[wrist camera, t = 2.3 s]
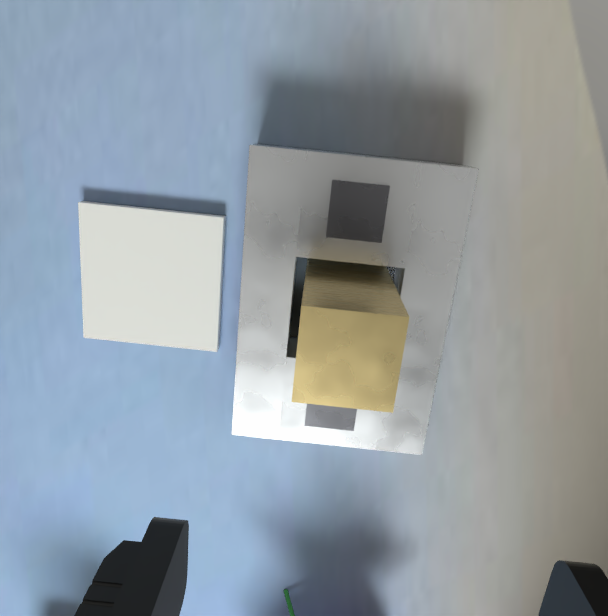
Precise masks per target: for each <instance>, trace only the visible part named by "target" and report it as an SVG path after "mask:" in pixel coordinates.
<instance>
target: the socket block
mask: <svg viewBox="0 0 608 616" xmlns="http://www.w3.org/2000/svg"><path fill="white" fill-rule="evenodd" d="M478 171H479V169H478V168H473V167H469V166H464V165H456V164H447V163H437V162H427V161H418V160H408V159H399V158H389V157H379V156H370V155H360V154H350V153H341V152H331V151H322V150H312V149H302V148H293V147H283V146H273V145H264V144H253V145H250V148H249V164H248V180H247V196H246V212H245V228H244V244H243V261H242V277H241V293H240V309H239V325H238V341H237V357H236V373H235V390H234V406H233V422H232V435H240V436H249V437H259V438H268V439H277V440H287V441H296V442H305V443H315V444H324V445H334V446H343V447H352V448H362V449H371V450H380V451H390V452H399V453H409V454H418V455H422V452H423V447H424V442H425V437H426V432H427V427H428V422H429V417H430V412H431V407H432V402H433V397H434V392H435V387H436V382H437V377H438V372H439V367H440V362H441V357H442V352H443V347H444V342H445V336H446V331H447V326H448V321H449V316H450V311H451V306H452V301H453V296H454V291H455V286H456V281H457V276H458V271H459V266H460V261H461V256H462V251H463V246H464V241H465V236H466V231H467V226H468V221H469V216H470V211H471V206H472V201H473V196H474V191H475V186H476V181H477V176H478ZM297 257H302V258H312V259H321V260H331V261H341V262H350V263H360V264H369V265H379V266H388V267H395V273H394V280H393V282H394V285H395V287H396V289H397V291H398V293H399V295H400V298H401V300H402V302H403V304H404V306H405V308H406V311H407V313H408V315H409V323H408V329H407V335H406V340H405V346H404V352H403V358H402V363H401V369H400V375H399V381H398V387H397V392H396V398H395V404H394V410H393V413H391V412H381V411H372V410H362V409H353V408H344V407H334V406H325V405H315V404H306V403H297V402H292V392H293V382H294V372H295V362H296V353H297V343H298V338H296V337H290V329H291V318H292V308H293V297H294V287H295V277H296V266H297Z"/></svg>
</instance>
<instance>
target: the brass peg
mask: <svg viewBox="0 0 608 616" xmlns="http://www.w3.org/2000/svg"><path fill="white" fill-rule="evenodd" d="M408 323H409V315H408V313H407V311H406V308H405V306H404V304H403V302H402V300H401V298H400V295H399V293H398V291H397V289H396V287H395V285H394V282H393V280H392V278H391V276H390V274H389V272H388V269H387V267H386V266H379V265H369V264H360V263H350V262H341V261H331V260H321V259H312V258H308V261H307V268H306V275H305V282H304V290H303V297H302V304H301V313H300V323H299V333H298V343H297V353H296V362H295V372H294V382H293V392H292V402H297V403H306V404H315V405H325V406H334V407H344V408H353V409H362V410H372V411H381V412H391V413H393V410H394V404H395V398H396V392H397V387H398V381H399V375H400V369H401V363H402V358H403V352H404V346H405V340H406V335H407V329H408Z"/></svg>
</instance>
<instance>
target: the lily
mask: <svg viewBox="0 0 608 616" xmlns="http://www.w3.org/2000/svg"><path fill="white" fill-rule="evenodd" d="M284 594H285V598H286V602H287V605H288V609H289V613H290V616H295V615H294V611H293V608H292V604H291V601H290V597H289V593H288V590H287V589H285V590H284Z"/></svg>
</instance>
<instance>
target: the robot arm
mask: <svg viewBox="0 0 608 616" xmlns="http://www.w3.org/2000/svg"><path fill="white" fill-rule="evenodd" d="M188 531H189V525H188V521H187V520H178V519H168V518H158V517H154V518H153V519H152V520H151V522H150V524H149V526H148V529H147V531H146V533H145V535H144V537H143V540H142V542H135V541H125V540H124V541H123V542H121V543H120V544H119V545H118V546H117V547H116V548H115V549H114V550H113V551H112V552H111V553H109V554H108V555H107V556H106V557H105V558H104V560H103V562H102V564H101V566H100V567H99V569H98V571H97V573H96V575H95V577H94V579H93V582H92V585H90V587H89V589H88V591H87V593H86V594H85V596H84V598H83V602H82V604H80V606H79V608H78V610H77V612H76V614H75V616H179V614H180V611H181V607H182V604H183V599H184V594H185V589H186V582H187V565H188ZM539 616H608V579H607V577H606V576H605V574H604V572H603V571H602V570H601V568H600V567H599V566H597V565H595V564H589V563H579V562H569V561H557V562H556V563H555V565H554V567H553V570H552V573H551V576H550V580H549V583H548V586H547V589H546V592H545V595H544V598H543V602H542V605H541V608H540V611H539Z"/></svg>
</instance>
